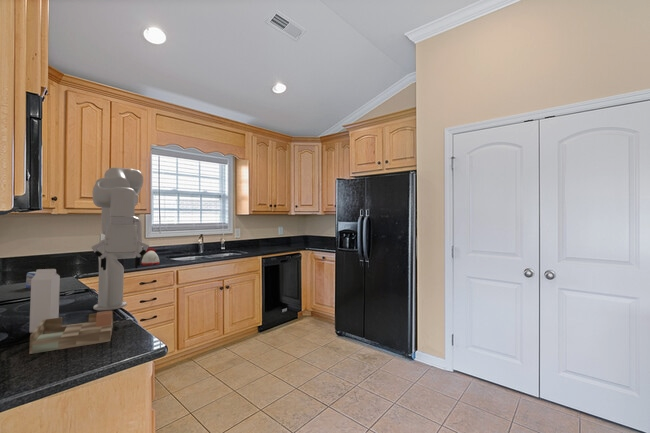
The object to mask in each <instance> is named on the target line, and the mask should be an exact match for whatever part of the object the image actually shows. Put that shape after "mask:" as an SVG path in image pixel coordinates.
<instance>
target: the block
mask: <svg viewBox="0 0 650 433" xmlns="http://www.w3.org/2000/svg"><path fill="white" fill-rule="evenodd" d="M112 311H113V310H105V311H97V312H96V313H97V315H96V327H97V326H105V325H111V323H112Z"/></svg>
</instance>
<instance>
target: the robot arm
mask: <svg viewBox="0 0 650 433" xmlns="http://www.w3.org/2000/svg"><path fill="white" fill-rule="evenodd" d="M143 183H144V177H143V174H142V172H141V171H140V170H138V169H133V168H123V167H110V168H108V169H107V170H105V173H104V177H101V178H98V179H97V180H96V181H95V183H94V185H93V187H92V202H93V204H94V205H95V206H96V207H98V208H101V232H102V234H103V235H104V238H103V239H100V240H99V242H98V243H97V244H95V245H92V246H91V249H92V251H93V252H94V254H95V255H96V256H97V257H98V286H97V287H98V288H97V289H98V290H97V296H98V297H97V303H96V304H94V305H93V310H94V311H98V312H103V311H111V310H112V311H114V310H118V309H122V308H124V307H126V306H127V305H128V302H126V301H124V284H125V283H124V282H125V281H124V278H125V277H124V276H125V275H124V273H125V272H124V271H125V268H124V266H123V265H122V263H121V262H120V261H119V260H122V259H123V260H125V259H135V261H134V262H135V263H134V264H135V266H134V267H135V269H138V267H140V265H141V257H143V256H144V255H145V254H146V253H147V249H149V248H150V245H149V244H147V243H145V242H143V226H142V221H141V219H140V218H139V217H137V216H135V212H136V211H135V210H136V206H137V205H138V203H139V195H140V193H141V191H142V187H143Z"/></svg>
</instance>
